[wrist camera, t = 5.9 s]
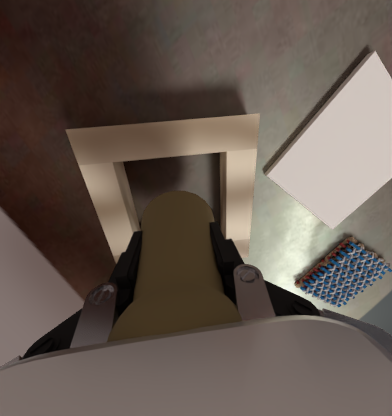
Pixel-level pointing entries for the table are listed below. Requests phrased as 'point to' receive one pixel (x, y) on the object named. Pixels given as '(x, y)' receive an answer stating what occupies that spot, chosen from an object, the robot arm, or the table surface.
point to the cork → (175, 272)
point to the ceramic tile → (342, 147)
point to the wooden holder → (168, 147)
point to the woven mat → (343, 273)
